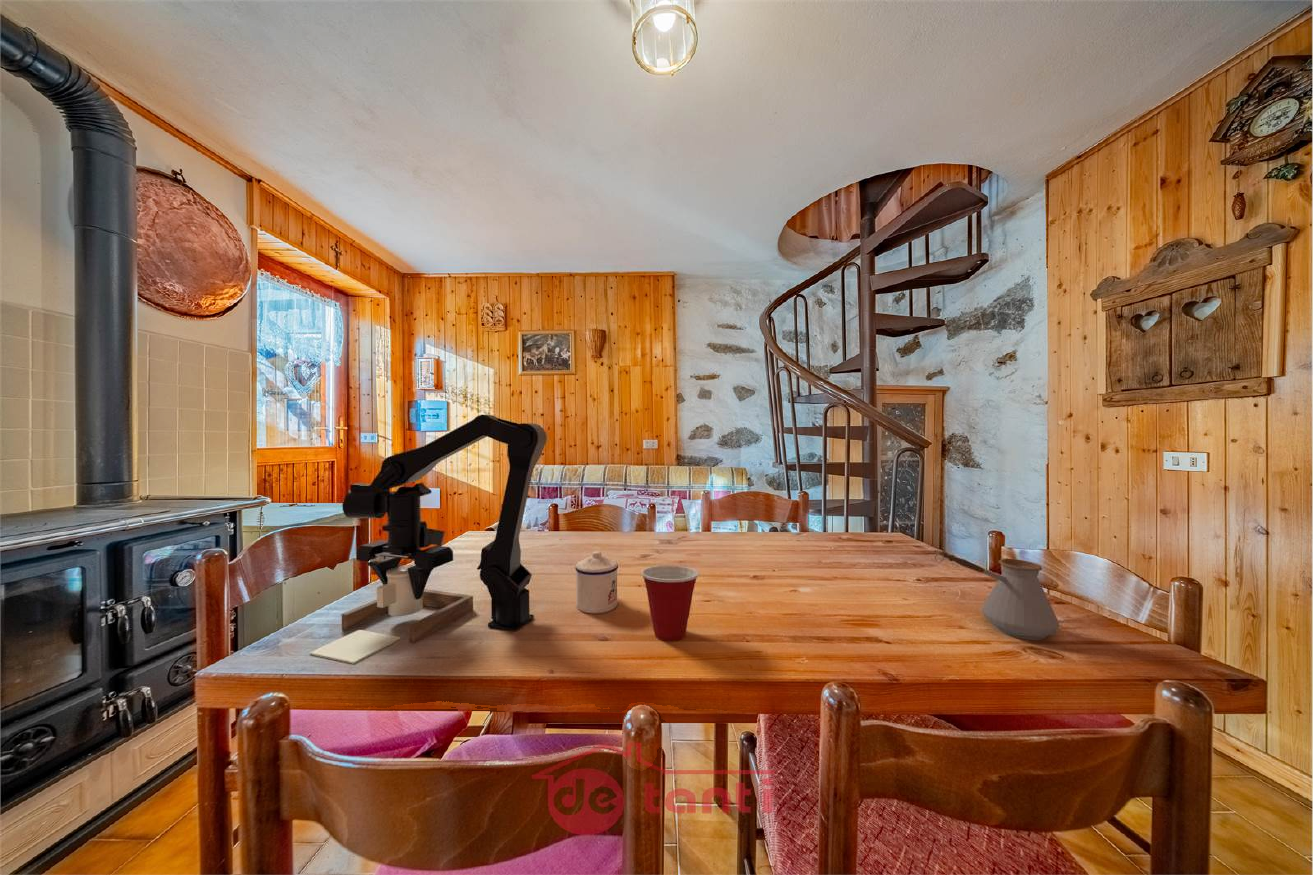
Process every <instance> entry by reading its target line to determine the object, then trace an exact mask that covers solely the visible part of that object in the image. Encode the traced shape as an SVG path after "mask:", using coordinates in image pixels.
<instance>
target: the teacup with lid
mask: <svg viewBox="0 0 1313 875" xmlns="http://www.w3.org/2000/svg"><path fill="white" fill-rule="evenodd" d="M618 569H619V565H618V562H617V561H616V560H614V559H612V558H609V557H607V556H605V555H603V554H602V552H601V551H599V550H597V551H596V550H595V551H592V553H591V556H589V557H586V558H585V559H581V560H579V561H578V562H577V563H576V564H575V571H576V608H577V609H578V610H579V611H581V612H583V613H586V614H603V613H608V612H610V611H613V609H615V608H616V607H617V605H618Z"/></svg>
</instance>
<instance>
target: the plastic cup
mask: <svg viewBox="0 0 1313 875" xmlns="http://www.w3.org/2000/svg"><path fill="white" fill-rule="evenodd" d="M640 573H641V574H640V575H641V576H642V578H643V580H644V584H645V589H646V594H647V601H648V608H649V611H650V612H649V613H650V618H651V620H652V621H651V622H652V628H653V632H654V633H653V634H654V636H655V637H656V638H657V639H658V640H661V641H664V642H665V641H666V642H675V641H676V642H677V641H680V640H681V639H683V638H685V636H686V632H687V627H688V622H689V617H690V613H691V608H692V606H691V605H692V601H693V599H692V598H693V594H694V589H695V585H696V580H697V578H698V576H699V575H700V572H699V571H698V570H697V569H695V568H693V567H688V566H683V565H654V566H648V567H646V568H643V569H642V570H641V571H640Z"/></svg>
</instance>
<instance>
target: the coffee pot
mask: <svg viewBox="0 0 1313 875" xmlns="http://www.w3.org/2000/svg"><path fill="white" fill-rule="evenodd" d="M938 555H939V556H941V557H942V558H941V559H940V561H938V560H937V556H938ZM944 559H948V560H949V562H955V563H957V564H958V565H960V566H962V567H963V568H964V567H965V568H967V569H970V570H971V571H972V570H973V571H976V572H978V573H982V574H984V575H986V576H989V577H991V578H993V579H995V580H997V581H996V582H995V584H994V586H993V587H992V589H991V591H990V593H989V594H988V596H987V598H986V599H985V601H984V602H983V604H982V607H981V612H982V614H983V616H984V617H985V620H987V621H988V622H989V623H990V625H991V624H992V626H993V628H994V629H996V630H997V631H999V632H1000V633H1003V634H1005V635H1008V636H1009V637H1010V636H1011V637H1014V638H1018V639H1022V640H1029V641H1030V640H1033V641H1040V640H1044V639H1045V638H1046V637H1049V636H1052V635H1053V634H1055V633H1056V632H1057V630H1058V629H1059V627H1060V622H1059V619H1058V617H1057V615H1056V614H1055V611H1054V609H1053V607H1052V605H1051V603H1050V601H1049V599H1048V596H1047V595H1046V593H1045V591H1044V588H1043V587H1042V584H1041V581H1040V580H1039V578H1038V576H1039V573H1040V571H1042V570H1043V567H1042V565H1040V564H1038V563H1036V562H1032V561H1028V560H1023V559H1016V558H1001V559H999V560H998V563H999V564H1000V565H1001V568H1002V573H1001V574H997V573H994V572H992V571H989V570H987V569H985V568H983V567H981V566H979V565H976V564H974V563H973V562H971V561H968V560H966V559H964V558H959V557H956V556H955V555H954V554H948V553H947V552H943V551H940V552H937V553H936V554H935V556H934V561H935V562H937V563H942V562H943V561H944Z"/></svg>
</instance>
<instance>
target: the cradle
mask: <svg viewBox="0 0 1313 875" xmlns="http://www.w3.org/2000/svg"><path fill="white" fill-rule="evenodd" d="M423 606H427V607H433V608H439V609H438V610H437V611H435V612H433V613H431V614H429V615H427V616H424V617H423V618H421V619H419V620H417V621H415V622H413V623H411V624H409V625H408V642H409V643H412V644H416V643H417V642H419V641H421V640H423V639H424V638H426V637H428V636H430V635H432V634H433V633H434V632H437V631H438V630H441V629H442V628H443V627H445V626H447V625H449V624H451V623H453V622H455V621H456V620H459V619H460V618H462V617H464V616H465V615H467V614H468V613H470V612H472V611H474V595H472V594H471V595H469V594H463V593H457V592H456V593H455V592H447V591H442V590H441V591H440V590H434V589H428V588H427V589H426V588H425V589H424V592H423ZM386 613H388V606H386V607H384V608H381V607H377V599H374V600H372V601H369V602H368V603H365V604H362V605H360V606H357V607H355V608H352V609H349V610H348V611H346V612H343V613H341V630H342V631H348V630H351V629H353V628H355V627H357V626H360V625H362V624H364V623H366V622H369V621H371V620H373V619H375V618H378V617H380V616H382V615H384V614H386Z"/></svg>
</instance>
